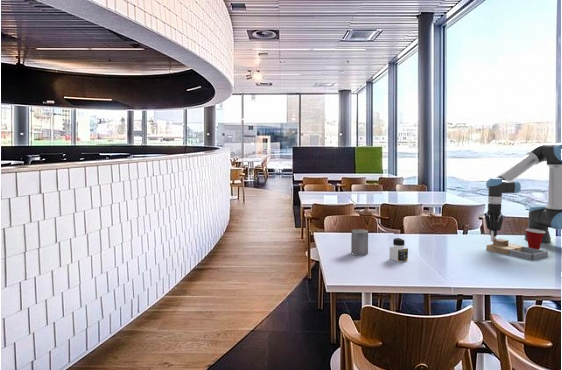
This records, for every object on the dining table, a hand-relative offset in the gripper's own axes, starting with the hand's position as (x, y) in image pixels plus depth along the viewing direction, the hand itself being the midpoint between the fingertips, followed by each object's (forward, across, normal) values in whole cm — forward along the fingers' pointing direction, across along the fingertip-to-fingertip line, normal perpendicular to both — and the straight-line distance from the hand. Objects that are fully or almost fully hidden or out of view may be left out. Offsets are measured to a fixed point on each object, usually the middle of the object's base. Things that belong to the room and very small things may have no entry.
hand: (493, 241), depth 278 cm
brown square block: (+1, +5, 0) cm, 5 cm away
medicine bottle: (+5, -9, -71) cm, 72 cm away
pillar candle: (+5, -31, -80) cm, 86 cm away
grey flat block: (+4, +22, 0) cm, 23 cm away
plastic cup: (+5, +15, +19) cm, 25 cm away
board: (+4, +8, 0) cm, 9 cm away
